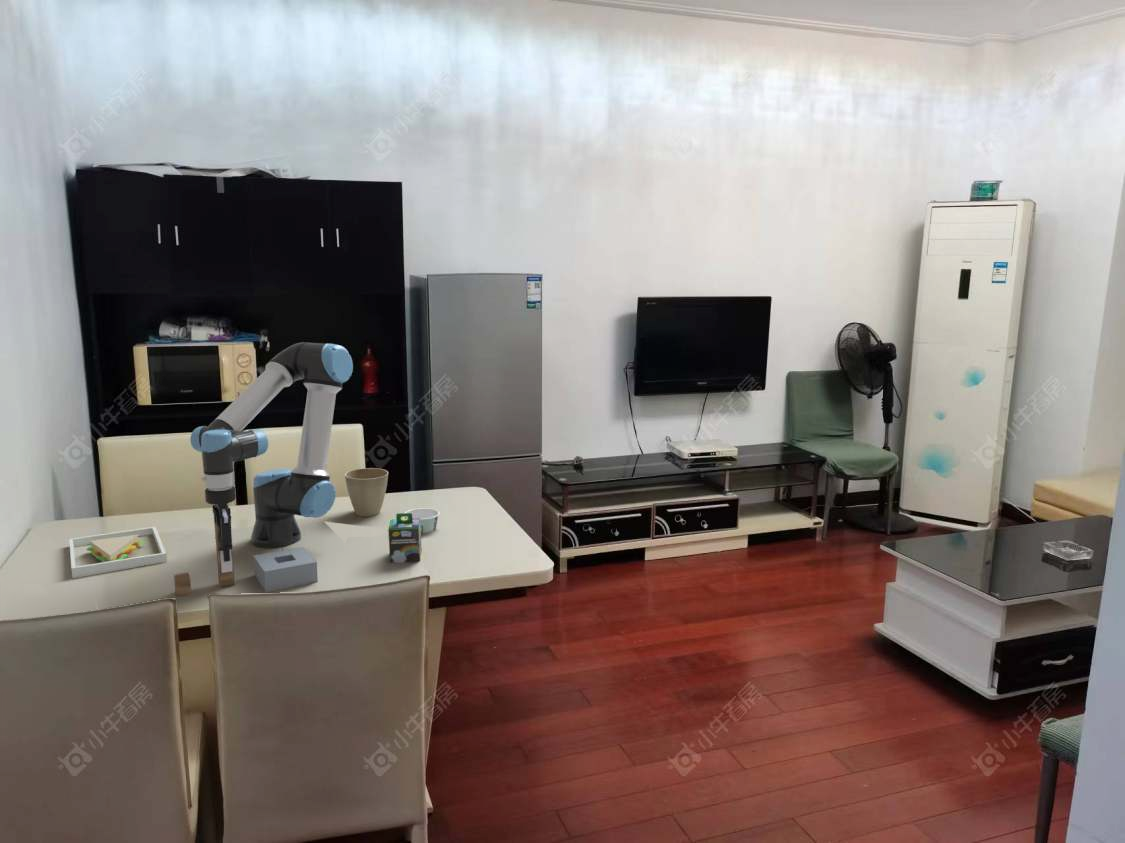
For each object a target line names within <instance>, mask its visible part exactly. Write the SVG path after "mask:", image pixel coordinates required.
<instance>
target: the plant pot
mask: <svg viewBox="0 0 1125 843" xmlns="http://www.w3.org/2000/svg"><path fill="white" fill-rule="evenodd" d="M344 479H345V485H346V489H347V491H348V496H349V500H350V503H351V505H352V508H353V510H354V513H355V515H356V516H358V517H363V518H364V517H374V516H376V515H379V514H380V513H381V510H382V508H383V507H382V506H383V504H384V500H385V496H386V491H387V487H388V481H389V480H388V479H389V471H388V470H386V469H383V468H375V467H370V468H369V467H368V468H367V467H366V468H364V467H363V468H356V469H352V470H348V471H346V472H345V473H344Z"/></svg>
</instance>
